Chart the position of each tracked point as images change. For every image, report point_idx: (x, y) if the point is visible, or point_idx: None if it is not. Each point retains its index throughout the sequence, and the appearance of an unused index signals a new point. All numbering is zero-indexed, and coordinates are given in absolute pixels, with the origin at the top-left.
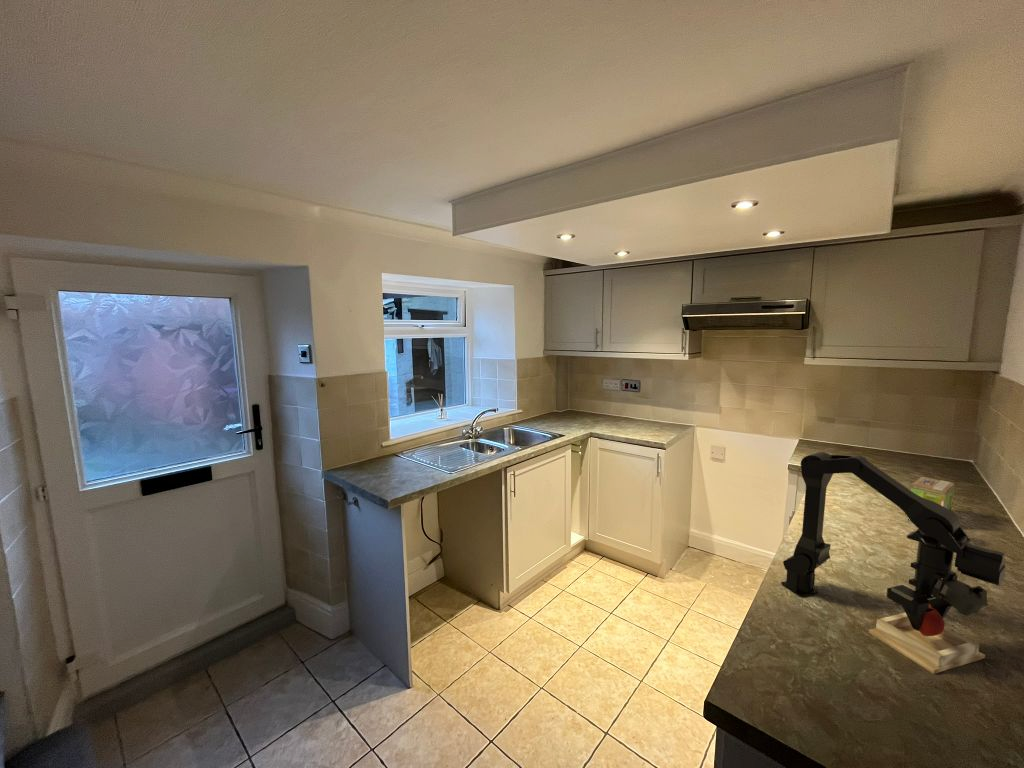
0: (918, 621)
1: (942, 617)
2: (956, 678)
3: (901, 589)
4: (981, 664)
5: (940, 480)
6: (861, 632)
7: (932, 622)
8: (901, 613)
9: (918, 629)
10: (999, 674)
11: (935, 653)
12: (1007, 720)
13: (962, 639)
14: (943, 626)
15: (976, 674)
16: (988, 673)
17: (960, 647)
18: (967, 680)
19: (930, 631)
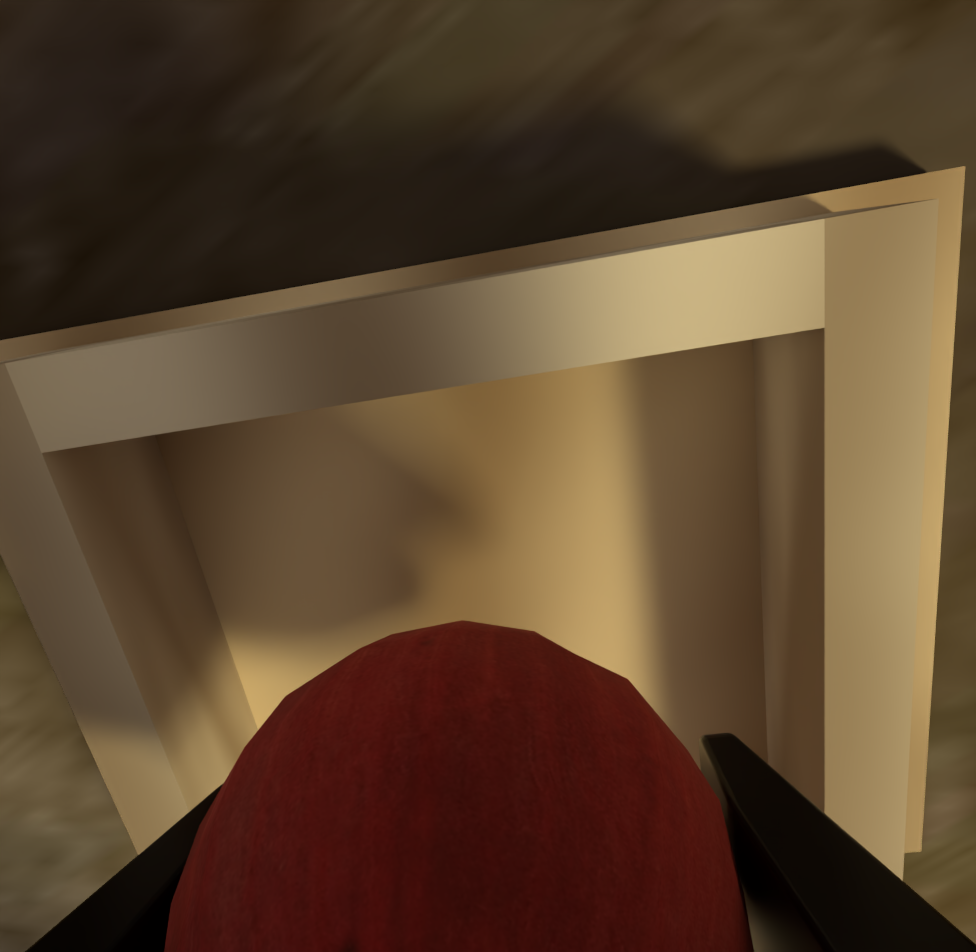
0: (937, 925)
1: (103, 929)
2: (711, 58)
3: None
4: (120, 256)
5: None
6: (968, 831)
7: (621, 852)
8: None
9: (750, 751)
10: (51, 64)
11: (903, 289)
12: None
13: (73, 523)
14: (348, 721)
15: (358, 99)
16: (180, 98)
17: (284, 371)
18: (600, 4)
19: (617, 677)
